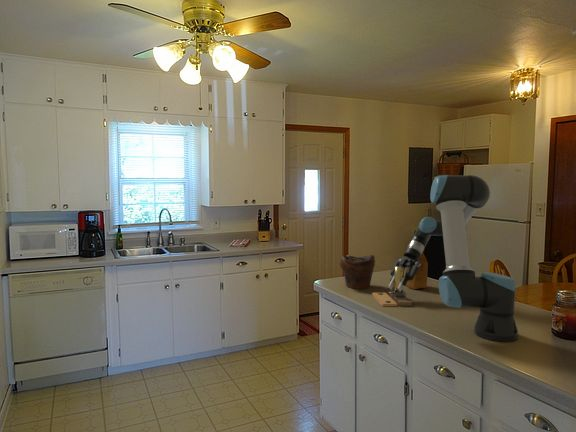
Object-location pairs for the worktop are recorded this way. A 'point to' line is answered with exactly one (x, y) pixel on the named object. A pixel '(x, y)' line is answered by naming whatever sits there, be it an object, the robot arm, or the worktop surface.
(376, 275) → the worktop surface
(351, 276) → the brown basket
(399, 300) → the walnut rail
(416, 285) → the coffee package
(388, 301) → the orange bolt plate
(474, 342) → the worktop surface
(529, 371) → the worktop surface
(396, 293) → the brass leg
